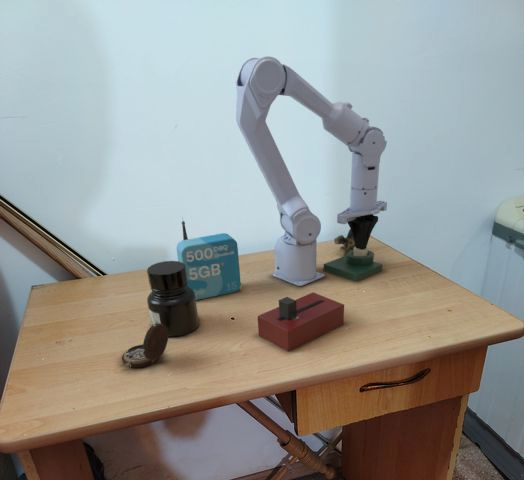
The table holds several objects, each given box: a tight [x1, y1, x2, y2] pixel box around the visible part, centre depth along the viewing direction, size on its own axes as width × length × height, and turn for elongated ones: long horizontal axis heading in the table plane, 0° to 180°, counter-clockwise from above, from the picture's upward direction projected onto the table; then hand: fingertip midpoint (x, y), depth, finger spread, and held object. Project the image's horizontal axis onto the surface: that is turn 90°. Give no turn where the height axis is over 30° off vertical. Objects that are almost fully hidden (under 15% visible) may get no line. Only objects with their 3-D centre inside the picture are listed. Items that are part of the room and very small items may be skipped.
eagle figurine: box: [333, 228, 356, 256], centre depth 119 cm, size 8×7×9 cm
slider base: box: [257, 292, 345, 352], centre depth 85 cm, size 8×14×4 cm, turn 130°
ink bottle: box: [146, 260, 200, 337], centre depth 87 cm, size 10×9×12 cm
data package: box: [176, 232, 242, 301], centre depth 100 cm, size 12×4×12 cm, turn 112°
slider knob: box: [278, 296, 297, 320], centre depth 82 cm, size 2×2×3 cm
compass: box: [119, 323, 169, 371], centre depth 78 cm, size 8×8×7 cm
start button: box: [353, 246, 369, 257], centre depth 109 cm, size 3×3×2 cm
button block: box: [323, 249, 383, 283], centre depth 109 cm, size 10×10×4 cm
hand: (360, 248), depth 108 cm, fingers closed
